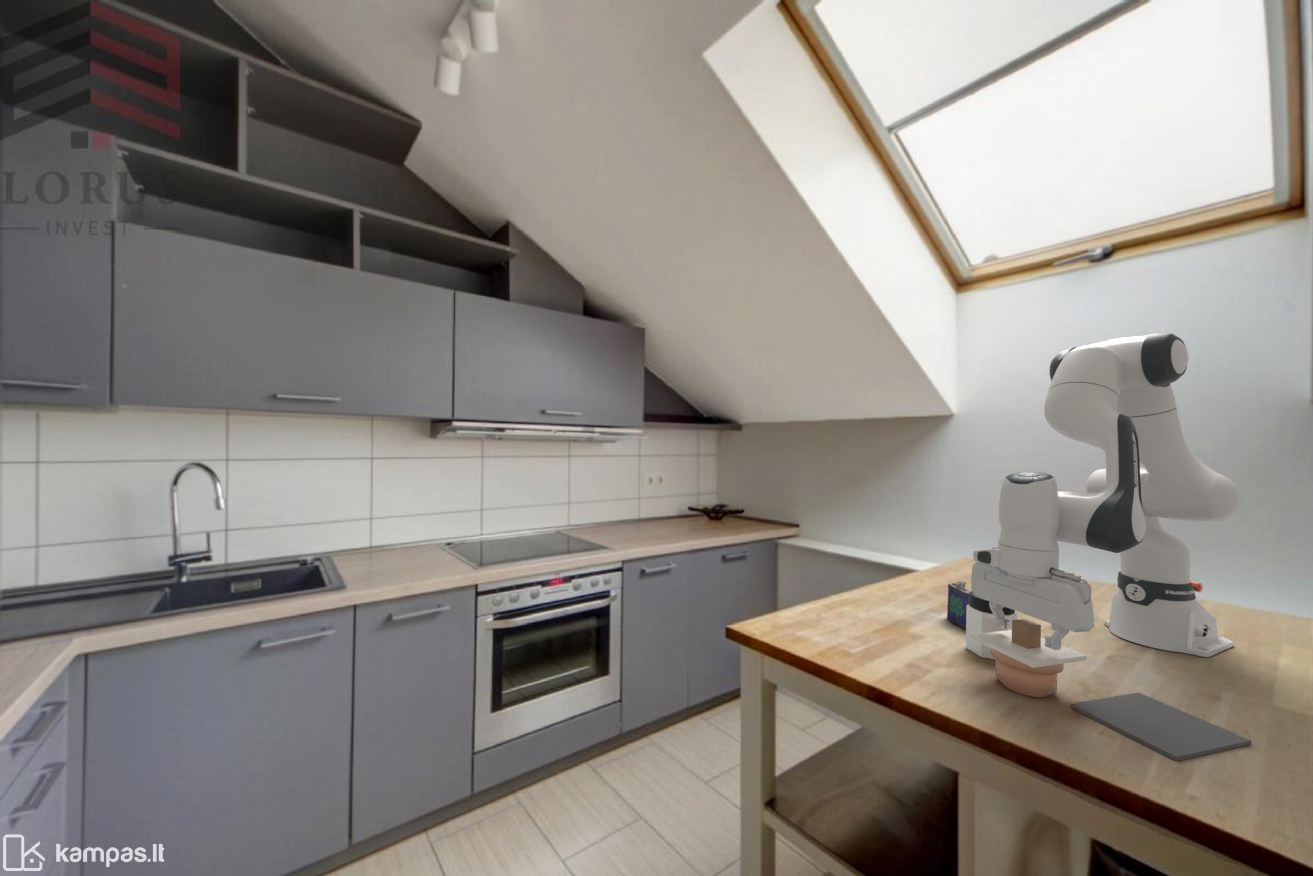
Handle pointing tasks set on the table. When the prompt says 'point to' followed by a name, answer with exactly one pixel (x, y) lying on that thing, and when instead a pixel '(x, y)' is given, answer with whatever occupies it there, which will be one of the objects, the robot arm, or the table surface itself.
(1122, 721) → the mat
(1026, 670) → the pink lidded container
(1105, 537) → the robot arm
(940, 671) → the table surface
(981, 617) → the jar
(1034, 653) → the lid
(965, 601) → the flask
